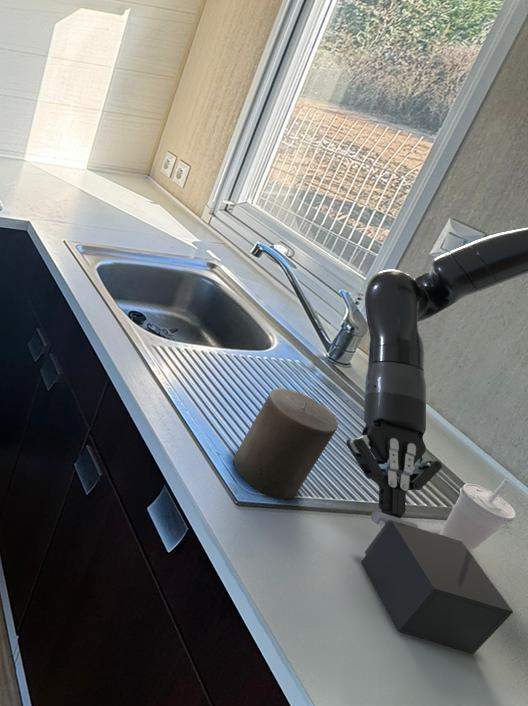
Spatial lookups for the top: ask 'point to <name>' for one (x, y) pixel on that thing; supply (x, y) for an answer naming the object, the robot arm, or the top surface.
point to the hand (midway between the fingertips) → (391, 515)
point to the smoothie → (477, 515)
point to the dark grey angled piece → (385, 521)
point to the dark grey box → (434, 588)
